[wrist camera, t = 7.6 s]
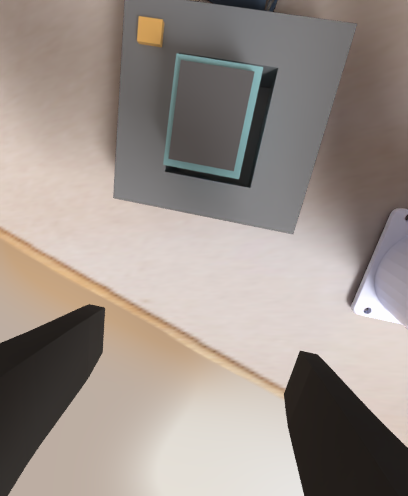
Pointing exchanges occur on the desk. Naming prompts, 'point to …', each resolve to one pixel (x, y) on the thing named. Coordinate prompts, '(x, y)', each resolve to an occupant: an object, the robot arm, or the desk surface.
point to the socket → (264, 116)
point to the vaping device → (249, 4)
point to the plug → (210, 114)
